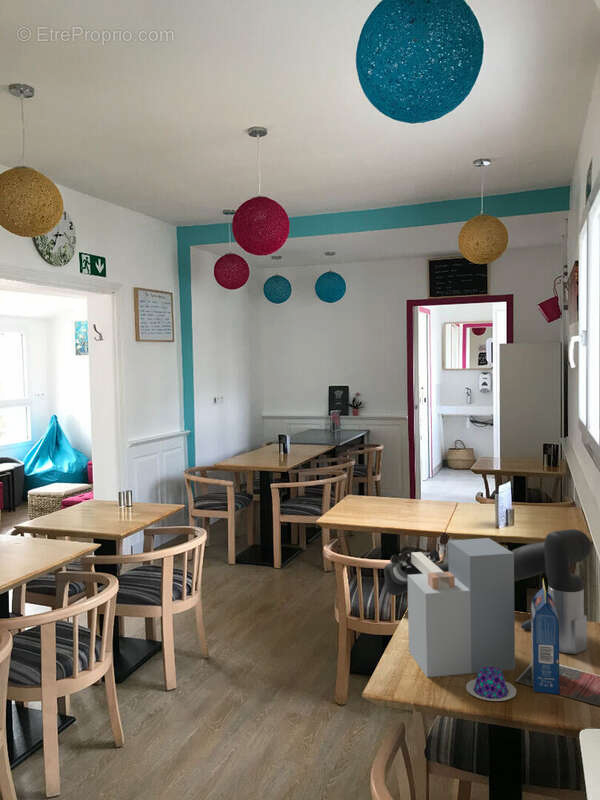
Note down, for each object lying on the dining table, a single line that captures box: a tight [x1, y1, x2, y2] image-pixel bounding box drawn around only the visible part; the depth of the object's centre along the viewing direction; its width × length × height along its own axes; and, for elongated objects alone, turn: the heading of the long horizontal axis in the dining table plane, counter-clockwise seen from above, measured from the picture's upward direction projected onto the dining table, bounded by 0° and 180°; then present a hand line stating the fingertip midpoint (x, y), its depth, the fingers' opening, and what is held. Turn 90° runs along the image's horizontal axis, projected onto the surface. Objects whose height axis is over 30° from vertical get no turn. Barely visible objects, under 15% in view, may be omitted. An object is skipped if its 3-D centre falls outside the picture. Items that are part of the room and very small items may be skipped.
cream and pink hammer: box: [411, 551, 455, 589], centre depth 190 cm, size 24×6×3 cm, turn 8°
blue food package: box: [530, 579, 560, 695], centre depth 170 cm, size 6×12×25 cm, turn 163°
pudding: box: [465, 667, 517, 702], centre depth 167 cm, size 12×12×5 cm
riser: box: [407, 537, 516, 678], centre depth 184 cm, size 16×24×31 cm, turn 98°
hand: (420, 553), depth 197 cm, fingers open, 8 cm apart
